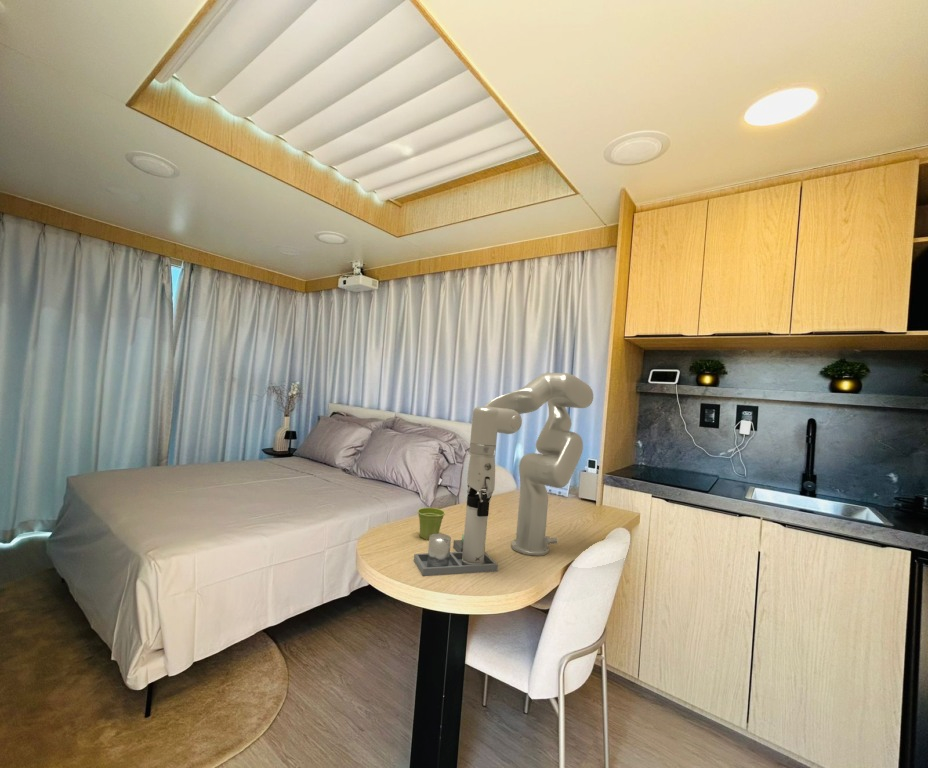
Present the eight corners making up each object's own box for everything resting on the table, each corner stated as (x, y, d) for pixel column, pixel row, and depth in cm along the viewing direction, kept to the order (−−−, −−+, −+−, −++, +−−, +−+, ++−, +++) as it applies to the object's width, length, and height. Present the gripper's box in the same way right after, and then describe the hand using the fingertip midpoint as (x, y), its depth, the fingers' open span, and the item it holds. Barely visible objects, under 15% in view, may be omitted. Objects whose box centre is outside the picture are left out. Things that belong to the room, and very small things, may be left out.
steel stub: (444, 561, 114) (447, 533, 114) (451, 570, 108) (454, 540, 109) (424, 562, 112) (427, 534, 112) (430, 572, 106) (432, 541, 107)
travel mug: (482, 571, 110) (489, 497, 111) (459, 567, 111) (465, 494, 112) (486, 562, 116) (492, 493, 117) (463, 558, 117) (470, 490, 118)
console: (473, 549, 128) (474, 539, 129) (481, 557, 122) (482, 547, 122) (452, 549, 126) (453, 540, 126) (460, 558, 119) (461, 548, 120)
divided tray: (482, 559, 120) (483, 550, 121) (497, 574, 111) (497, 564, 111) (413, 563, 113) (414, 553, 113) (422, 579, 104) (423, 568, 104)
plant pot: (441, 543, 131) (444, 516, 131) (413, 540, 131) (415, 513, 132) (443, 534, 140) (445, 509, 141) (416, 531, 140) (419, 506, 141)
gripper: (507, 455, 108) (502, 521, 108) (482, 446, 125) (477, 503, 124) (482, 454, 106) (476, 521, 105) (460, 445, 122) (454, 503, 121)
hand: (477, 511), depth 115 cm, fingers open, 7 cm apart
